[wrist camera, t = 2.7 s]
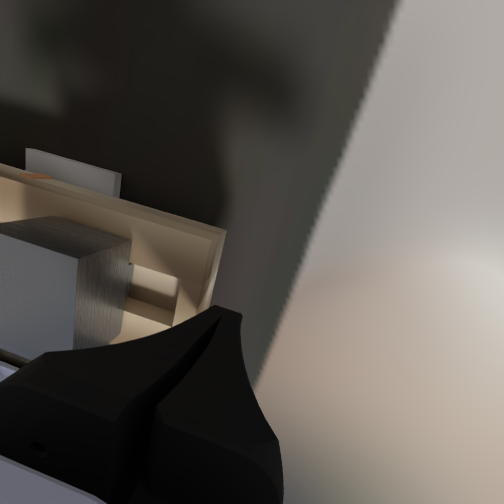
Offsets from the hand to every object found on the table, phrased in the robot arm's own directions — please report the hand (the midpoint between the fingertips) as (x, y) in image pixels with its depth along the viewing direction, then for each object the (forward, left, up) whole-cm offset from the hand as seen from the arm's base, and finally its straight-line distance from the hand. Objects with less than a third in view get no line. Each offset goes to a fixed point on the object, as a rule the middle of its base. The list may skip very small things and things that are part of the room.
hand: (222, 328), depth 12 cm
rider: (0, +7, -2) cm, 7 cm away
